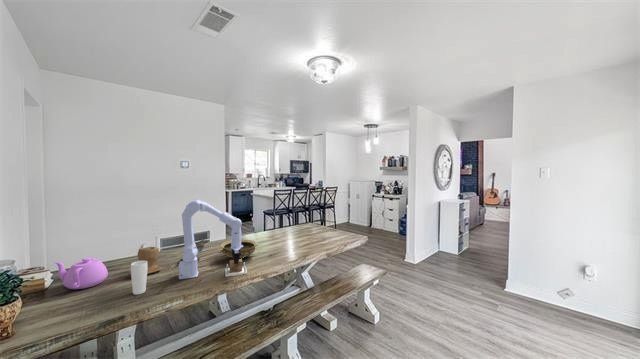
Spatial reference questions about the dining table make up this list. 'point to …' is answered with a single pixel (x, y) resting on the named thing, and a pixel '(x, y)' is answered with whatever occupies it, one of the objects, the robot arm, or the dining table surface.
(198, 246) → the bird figurine
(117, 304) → the dining table surface
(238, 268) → the walnut block
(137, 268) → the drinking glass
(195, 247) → the robot arm
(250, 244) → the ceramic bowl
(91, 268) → the teapot
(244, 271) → the standoff plate
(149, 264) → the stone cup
